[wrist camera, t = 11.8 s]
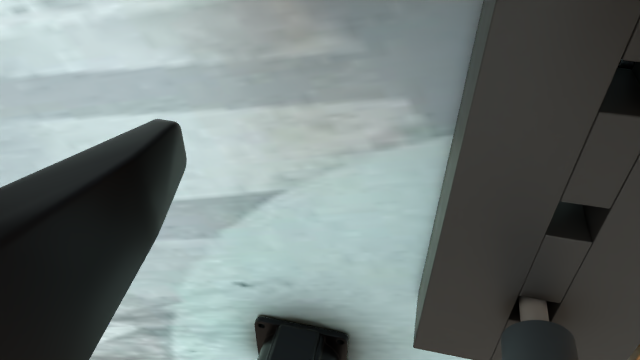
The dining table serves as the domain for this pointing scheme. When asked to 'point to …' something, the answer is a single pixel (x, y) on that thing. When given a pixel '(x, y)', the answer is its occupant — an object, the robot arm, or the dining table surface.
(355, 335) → the dining table surface
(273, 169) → the dining table surface
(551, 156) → the rack
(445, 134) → the dining table surface
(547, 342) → the screwdriver
